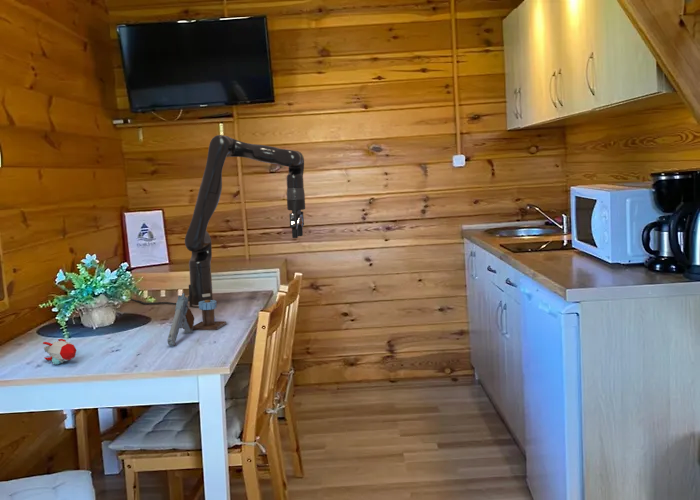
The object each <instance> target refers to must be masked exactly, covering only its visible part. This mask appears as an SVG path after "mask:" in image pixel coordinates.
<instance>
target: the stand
mask: <svg viewBox="0 0 700 500" xmlns="http://www.w3.org/2000/svg"><path fill="white" fill-rule="evenodd" d="M207 302H210V300H205V303H207ZM201 319H202V320H201V321H199V322H198V323H196V324H194V325H193V329H192V331H217V330H219V329H221V328H222V327H224V326H226V325H227V323H228V322H227V321H226V320H223V321H221V320H218V321H216V320H215V319H216V318H215V309H211V310H201Z"/></svg>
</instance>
